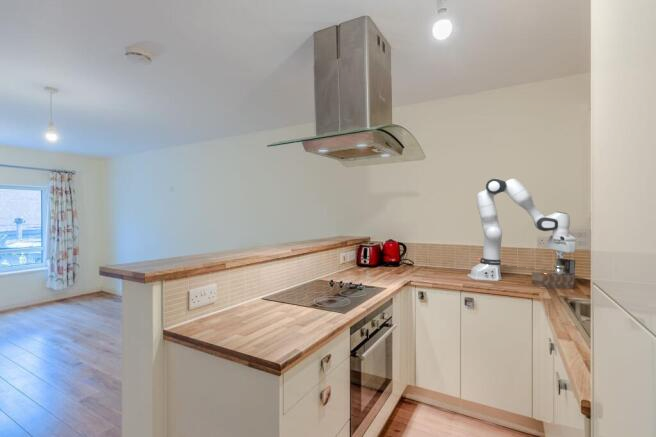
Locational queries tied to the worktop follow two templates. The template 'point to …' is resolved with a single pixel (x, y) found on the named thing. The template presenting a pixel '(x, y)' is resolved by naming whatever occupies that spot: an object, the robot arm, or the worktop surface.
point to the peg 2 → (559, 269)
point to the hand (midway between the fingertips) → (560, 257)
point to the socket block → (553, 281)
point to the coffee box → (567, 266)
